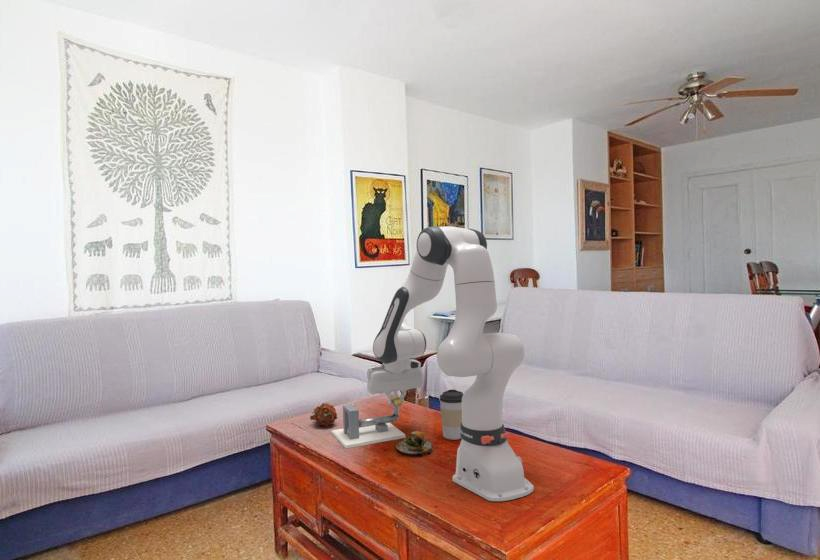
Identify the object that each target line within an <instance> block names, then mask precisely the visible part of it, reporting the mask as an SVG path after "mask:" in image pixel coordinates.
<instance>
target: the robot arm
mask: <svg viewBox="0 0 820 560" xmlns="http://www.w3.org/2000/svg"><path fill="white" fill-rule="evenodd" d="M448 266H450V267H451V268H452V270H453V279H454V280H453V282H454V292H455V316H454V318H455V319H454V322H453V326H452V327H451V330H450V332H449V333H448V335H447V336H446V338H444V340H443V341H441V343H440V345H439V346H438V349H437V353H436V360H437V365H438V366H439V368H440V370H441V372H442V373H443V374H445V375H446V376H449V377H457V378H467V377H474V376H475V377H476V378H475V379H474V382H473V383H472V385H470V386H469V387H468V388H467V389H465V391H464V392H463V396H462V422H461V427H460V436H461V440H460V443H459V446H458V447H457V450H456V452H457V453H456V464H455V473H453V475H452V480H451V481H452V482H454V483H455V484H457V485H459V486H460V487H462V488H465V490H468V491H470V492H473V493H474V494H476V495H478V496H480V497H481V498H483V499H485V500H487V501H489V502H506V501H511V500H515V499H518V498H523V497H525V496H528V495H530V494H531V493H533V492H534V491H535V488H534V485H533V483H531V482H530V481H529V480H528V479H527V478H526V477H525V472H524V466H523V460H522V458H521V456H517V455H516V453H515V451H514V450H513V448H512V447H511V446H510V444H509V442H508V441H507V440H508V437H509V432H506V428H505V425H504V423H503V409H504V408H503V406H504V395H505V392H506V388H507V386H508V382H509V380H510V379H511V377H512V375H513V373H514V372H515V371H516V370H517V368H518V367H520V366H521V364H522V363H523V361H524V357H525V348H524V344H523V342H522V340H521V339H520V338H519V337H518V336H517V335H515V334H513V333H507V332H490V333H488V332H487V333H484V328H485V324H486V323H487V320H490V318H492V317H493V316H494V315H495V314H496V311H497V308H498V304H497V302H498V301H497V291H496V283H495V282H496V281H495V275H494V269H493V264H492V259H491V256H490V254H489V250H488V243H487V239H486V236H485V235H484V234H483V233H482V232H481V231H479V230H477V229H475V228H474V229H473V228H464V227H456V226H452V225H451V226H450V225H449V226H437V225H433V226H428V227H425V228H423V229H422V230H421V231H420V232H419V234H418V236H417V239H416V252H415V254H414V257H413V259H412V262H411V266H410V270H409V274H408V275H407V278H406V280H405V281H404V282H403V285H401V287H400V288H398V289H397V291H395V293H394V295H393V298H392V300H391V303H390V305H389V307H388V310H387V312H386V315H385V317H384V319H383V323H382V325H381V328H380V330H379V331H378V333H377V334H376V336H375V338H374V341H373V345H372V351H373V355H374V356H375V358H376V359H377V360H378V361H380V362H381V363H382V365H376V366H375V365H374V366H371V367H369V368H368V370H367V371H366V372H367V387H366V388H367V389H366V390H367V392H368V393H370V394H371V395H377V394H383V393H384V395H385V396H386V399H387V404H388V405H393V404H394V399H392V398H391V397H390V396H391V395H392V393H393V392H397V391H398V392H399V391H400V392H401V393H400V395H399V396H397V397H398V398H399V399H401V400H402V404H403V403H404V402H405V396H406V395H407V390H412V389H419V388H420V389H421V388H422V387H423V385H424V376H423V375H424V374H423V370H422V369H421V366H422V363H421V362H420V361H419V360H417V359H416V358H419V357H422V356H423V355H424V354H425V352H426V350H427V338H426V336H425V334H424V333H423V331H421V330H420V329H416V328H414V327H412V326H411V325H410V324H408V323H407V320H406V319H405V318H406V316H407V315H408V313H410V312H411V310H413V309H415V308H416V307H418V306H420V305H422V304H425V303H427V302H429V301H432V300H433V299H434V298H436V297H437V296H438V295H439V293H440V292H441V290H442V287H443V285H444V281H445V277H446V273H447V268H448Z"/></svg>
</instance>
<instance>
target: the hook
mask: <svg viewBox="0 0 820 560" xmlns="http://www.w3.org/2000/svg"><path fill="white" fill-rule="evenodd" d="M389 396H390V397H391V398H392V399H394V404H392V414H386V415H381V416H375V417H374V416H373V417H368V418H363V419H362V418H361V419H359V428H361V427H367V426H373V425H379V424H385V423H391V424H392V423H397V422H398V420H399V418H400V411H399V410H400V407H401V406H402V405H403V403H402V400H401V399H399V398H398V397H399V396H396V395H394V394H391V395H389ZM347 434H348V435H349V427H347Z"/></svg>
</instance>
